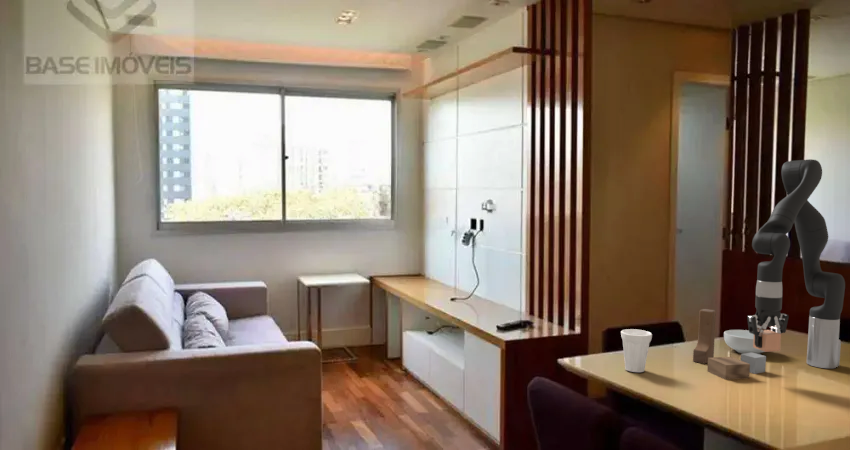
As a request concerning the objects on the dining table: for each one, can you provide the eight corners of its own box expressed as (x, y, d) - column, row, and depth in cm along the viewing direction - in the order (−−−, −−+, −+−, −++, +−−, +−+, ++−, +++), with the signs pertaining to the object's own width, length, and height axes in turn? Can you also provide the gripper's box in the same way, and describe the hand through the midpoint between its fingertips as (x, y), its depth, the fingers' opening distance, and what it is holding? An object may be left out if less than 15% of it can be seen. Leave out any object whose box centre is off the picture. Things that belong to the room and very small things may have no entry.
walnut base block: (730, 371, 221) (731, 356, 221) (749, 379, 213) (749, 364, 212) (707, 372, 219) (708, 357, 219) (725, 380, 211) (725, 365, 210)
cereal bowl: (774, 351, 249) (775, 333, 248) (770, 360, 235) (772, 341, 234) (726, 344, 258) (727, 327, 258) (720, 353, 244) (721, 334, 243)
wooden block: (705, 364, 228) (708, 313, 227) (692, 361, 231) (694, 311, 230) (713, 359, 235) (716, 310, 234) (700, 356, 238) (703, 308, 237)
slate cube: (750, 367, 225) (751, 352, 225) (765, 372, 220) (766, 356, 220) (740, 369, 223) (740, 353, 222) (754, 374, 218) (755, 357, 217)
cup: (655, 371, 218) (657, 332, 218) (642, 377, 211) (644, 337, 210) (627, 364, 225) (629, 327, 224) (614, 370, 218) (615, 332, 217)
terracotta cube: (767, 346, 212) (768, 329, 212) (780, 350, 207) (781, 333, 206) (753, 347, 211) (753, 330, 211) (765, 351, 206) (766, 334, 205)
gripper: (779, 291, 213) (776, 342, 214) (741, 293, 210) (739, 344, 211) (797, 295, 206) (794, 348, 207) (758, 297, 202) (755, 351, 204)
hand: (766, 346), depth 209 cm, fingers closed on terracotta cube, 5 cm apart
